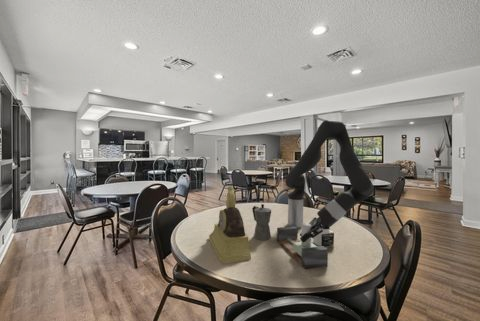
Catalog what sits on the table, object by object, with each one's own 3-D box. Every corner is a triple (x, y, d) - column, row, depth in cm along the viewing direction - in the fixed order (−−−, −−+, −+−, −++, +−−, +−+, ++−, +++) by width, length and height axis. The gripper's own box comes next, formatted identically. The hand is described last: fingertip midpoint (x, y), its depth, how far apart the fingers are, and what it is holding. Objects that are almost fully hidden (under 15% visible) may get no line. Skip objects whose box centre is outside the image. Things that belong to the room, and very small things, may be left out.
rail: (277, 241, 111) (277, 227, 111) (294, 239, 114) (294, 226, 113) (305, 269, 84) (305, 251, 84) (327, 266, 86) (327, 249, 86)
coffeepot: (277, 239, 114) (277, 205, 113) (263, 243, 109) (263, 208, 108) (259, 230, 127) (259, 200, 126) (246, 233, 122) (246, 202, 121)
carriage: (293, 249, 96) (293, 222, 96) (309, 247, 98) (309, 221, 97) (302, 257, 88) (302, 228, 88) (319, 255, 90) (320, 227, 90)
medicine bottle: (321, 248, 103) (321, 223, 103) (312, 242, 110) (313, 219, 110) (334, 246, 105) (334, 222, 105) (324, 240, 112) (325, 218, 111)
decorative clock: (209, 238, 115) (209, 183, 114) (232, 235, 119) (232, 182, 118) (221, 264, 88) (221, 191, 87) (250, 259, 92) (251, 190, 91)
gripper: (322, 202, 98) (295, 226, 101) (327, 210, 84) (295, 238, 87) (335, 214, 96) (306, 238, 100) (342, 225, 83) (308, 252, 86)
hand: (301, 238), depth 93 cm, fingers closed on carriage, 4 cm apart
